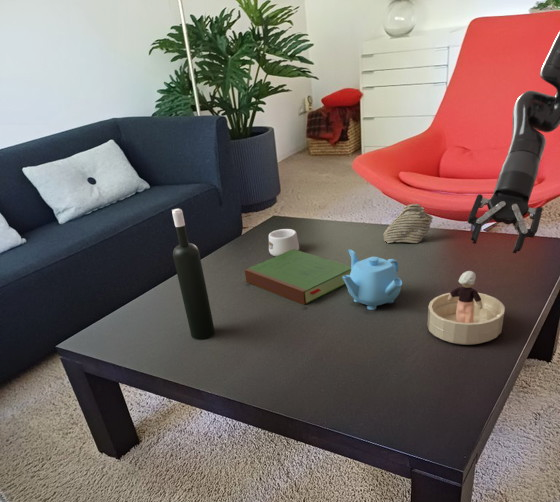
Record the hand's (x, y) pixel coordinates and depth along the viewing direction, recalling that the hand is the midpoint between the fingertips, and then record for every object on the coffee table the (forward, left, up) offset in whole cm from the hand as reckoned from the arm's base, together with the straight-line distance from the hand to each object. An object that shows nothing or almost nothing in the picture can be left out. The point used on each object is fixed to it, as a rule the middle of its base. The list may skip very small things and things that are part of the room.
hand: (494, 247), depth 113 cm
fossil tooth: (+39, -32, -16) cm, 53 cm away
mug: (+70, -8, -16) cm, 72 cm away
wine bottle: (+52, +43, -16) cm, 69 cm away
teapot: (+26, +9, -16) cm, 31 cm away
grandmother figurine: (+1, +10, -15) cm, 18 cm away
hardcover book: (+50, +8, -16) cm, 53 cm away
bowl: (+1, +11, -15) cm, 19 cm away
